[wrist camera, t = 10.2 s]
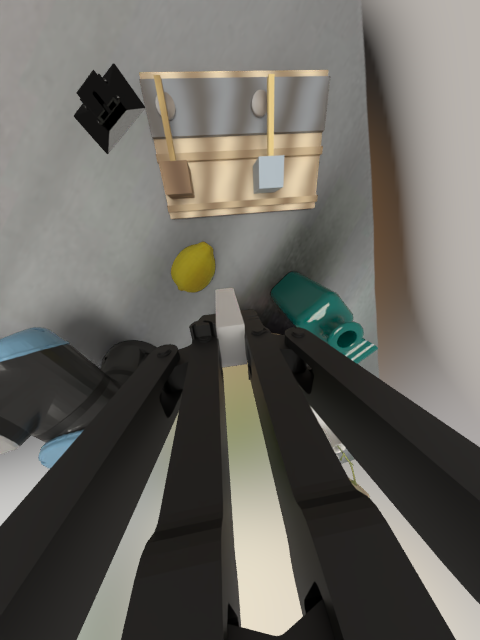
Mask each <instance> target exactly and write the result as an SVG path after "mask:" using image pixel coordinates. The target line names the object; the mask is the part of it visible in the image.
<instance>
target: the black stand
mask: <svg viewBox="0 0 480 640" xmlns="http://www.w3.org/2000/svg"><path fill="white" fill-rule="evenodd" d="M77 94H78V96H79V97H80V100H81V101H82V103H83V104H82V105H81V107H80V108H79V109H78V111H77V112H76V113H75V115H74V117H75V118H76V120H77V121H78V122H79V123H80V124H81V125H82V126H83V127H84V129H85V130H86V131H87V132H88V133H89V134H90V135H91V137H92V138H93V139H94V140H95V141H96V142H97V143H98V144H99V146H100V147H101V148H102V149H103V150H104V151H105V152H106V153H107V154H108V153H109V152H110V151H111V150H112V148H113V147H114V146H115V145H116V143H117V142H118V141H119V140H120V139H121V137H122V136H123V135H124V134H125V132H126V131H127V130H128V129H129V127H130V126H131V125H132V124H133V123H134V121H135V120H136V119H137V118H138V116H139V115H140V114H141V113H142V111H143V110H144V109H145V106H144V105H143V103H142V102H141V101H140V99H139V98H138V96H137V95H136V93H135V92H134V91H133V89H132V88H131V86H130V85H129V84H128V82H127V81H126V79H125V78H124V77H123V75H122V74H121V72H120V71H119V69H118V68H117V67H116V65H115V64H112V66H111V67H110V68H109V70H108V71H107V72H106V74H105V75H104V76H103V78H102V77H101V75H100V74H98V75H97V74H96V72H95V71H94V70H93V71H92V72H91V73H90V75H89V76H88V78H87V79H86V80H85V82H84V83H83V84H82V86H81V87H80V89H79V90H78V91H77Z"/></svg>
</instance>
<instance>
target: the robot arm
mask: <svg viewBox="0 0 480 640" xmlns="http://www.w3.org/2000/svg"><path fill="white" fill-rule="evenodd" d="M215 301H216V314H212V315H203V316H202V317H201V318H200V319H199V320H198V321H196V322H194V323H192V324H191V325H190V327H189V328H190V332H191V336H192V344H191V345H189V346H188V347H185V348H182V349H179V350H178V348H177V346H175V345H171V344H169V345H163V346H160V347H158V348H156V347H155V346H153V345H151V344H148V343H146V342H142V341H124V342H121V343H118V344H116V345H115V346H113V347H112V348H111V349H110V350H109V351H108V353H107V354H106V355H105V357H104V359H103V361H102V365H101V369H100V368H98V367H97V366H96V365H95V364H93V363H92V362H91V361H89V360H88V359H87V358H86V357H84V356H83V355H82V354H81V353H80V352H78V351H77V350H76V349H75V348H74V347H72V346H71V345H70V343H69V342H68V341H65V340H63V339H62V338H60V337H59V336H57V335H56V334H55V333H53V332H52V331H50V330H48V329H46V328H41V327H35V328H29V329H26V330H23V331H20V332H18V333H15V334H12V335H10V336H7V337H5V338H2V339H0V454H3V453H6V452H9V451H13V450H16V449H17V448H18V447H19V446H21V445H22V444H23V443H24V442H25V441H26V440H27V439H28V438H29V437H30V436H31V435H32V436H34V437H36V438H38V439H40V440H42V441H44V442H46V443H45V444H44V445H43V446H42V447H41V451H40V453H39V461H41V463H42V464H43V465H44V466H45V467H47V468H50V470H49V471H48V472H47V473H46V474H45V475H44V477H43V478H42V479H41V480H40V481H39V482H38V484H37V485H36V486H35V487H34V488H33V489H32V491H31V492H30V493H29V494H28V495H27V496H26V497H25V499H24V500H23V501H22V502H21V503H20V504H19V505H18V507H17V508H16V509H15V510H14V511H13V512H12V513H11V515H10V516H9V517H8V518H7V519H6V520H5V522H4V523H3V524H2V525H1V526H0V640H77V637H78V635H79V633H80V631H81V628H82V626H83V624H84V622H85V620H86V617H87V615H88V613H89V611H90V608H91V606H92V604H93V602H94V600H95V597H96V595H97V593H98V591H99V588H100V586H101V584H102V582H103V579H104V577H105V575H106V573H107V570H108V568H109V566H110V564H111V561H112V559H113V557H114V555H115V552H116V550H117V548H118V546H119V543H120V541H121V539H122V537H123V535H124V532H125V530H126V528H127V526H128V523H129V521H130V519H131V517H132V515H133V512H134V510H135V508H136V506H137V503H138V501H139V499H140V497H141V494H142V492H143V490H144V488H145V485H146V483H147V481H148V479H149V477H150V474H151V472H152V470H153V468H154V465H155V463H156V461H157V459H158V456H159V454H160V452H161V450H162V448H163V445H164V443H165V441H166V438H167V436H168V434H169V432H170V430H171V427H172V425H173V423H174V420H175V418H176V416H177V414H178V412H179V415H178V420H177V425H176V431H175V436H174V441H173V446H172V452H171V457H170V463H169V468H168V473H167V478H166V483H165V489H164V494H163V499H162V505H161V510H160V515H159V520H158V524H157V527H156V529H155V532H154V534H153V535H152V537H151V538H150V539H149V540H148V542H147V543H146V545H145V549H144V550H143V553H142V555H141V558H140V562H139V565H138V569H137V573H136V577H135V580H134V585H133V589H132V594H131V598H130V603H129V607H128V611H127V616H126V620H125V624H124V629H123V634H122V638H121V640H456V639H455V638H454V636H453V634H452V632H451V631H450V629H449V627H448V625H447V624H446V622H445V620H444V619H443V617H442V616H441V614H440V612H439V610H438V608H437V607H436V605H435V603H434V602H433V600H432V598H431V596H430V595H429V593H428V591H427V590H426V588H425V586H424V584H423V583H422V581H421V579H420V578H419V576H418V574H417V573H416V571H415V569H414V567H413V566H412V564H411V562H410V561H409V559H408V557H407V555H406V554H405V552H404V550H403V549H402V547H401V545H400V543H399V542H398V540H397V538H396V537H395V535H394V533H393V532H392V530H391V528H390V526H389V525H388V523H387V521H386V520H385V518H384V517H383V515H382V514H381V512H380V511H379V509H378V508H377V506H376V505H375V504H374V503H373V502H372V501H371V499H370V498H369V497H368V496H367V495H365V494H363V493H362V492H360V491H358V490H357V489H356V488H355V487H354V486H353V484H352V483H351V481H350V480H349V478H348V476H347V475H346V472H345V471H344V469H343V467H342V465H341V463H340V461H339V459H338V457H337V456H336V454H335V452H334V450H333V448H332V446H331V444H330V443H329V441H328V439H327V437H326V435H325V433H324V431H323V429H322V428H321V426H320V424H319V422H318V420H317V418H316V416H315V414H314V413H313V411H312V409H311V407H312V408H313V410H314V411H315V412H316V413H317V414H318V415H319V417H320V418H321V419H322V420H323V421H324V423H325V424H326V425H327V426H328V427H329V429H330V430H331V431H332V432H333V433H334V434H335V436H336V437H337V438H338V439H339V440H340V442H341V443H342V444H343V445H344V446H345V448H346V449H347V450H348V451H349V452H350V453H351V455H352V456H353V457H354V458H355V459H356V461H358V463H359V464H360V465H361V466H362V468H363V469H364V470H365V471H366V472H367V474H368V475H369V476H370V477H371V478H372V480H373V481H374V482H375V483H376V484H377V485H378V487H379V488H380V489H381V490H382V491H383V493H384V494H385V495H386V496H387V497H388V499H389V500H390V501H391V502H392V503H393V504H394V506H395V507H396V508H397V509H398V510H399V512H400V513H401V514H402V515H403V516H404V517H405V519H406V520H407V521H408V522H409V523H410V525H411V526H412V527H413V528H414V529H415V531H417V533H418V534H419V535H420V536H421V537H422V539H423V540H424V541H425V542H426V544H427V545H428V546H429V547H430V548H431V550H432V551H433V552H434V553H435V554H436V555H437V557H438V558H439V559H440V560H441V561H442V563H443V564H444V565H445V566H446V567H447V568H448V569H449V571H450V572H451V573H452V574H453V575H454V576H455V577H456V578H457V579H458V581H459V582H460V583H461V584H462V585H463V586H464V587H465V589H466V590H467V591H468V592H469V593H470V594H471V595H472V596H473V597H474V599H475V600H476V601H477V602H478V603H479V604H480V447H478V446H477V445H475V444H474V443H472V442H471V441H469V440H468V439H467V438H465V437H464V436H462V435H461V434H459V433H458V432H456V431H455V430H454V429H452V428H451V427H449V426H448V425H446V424H445V423H443V422H442V421H440V420H439V419H437V418H436V417H434V416H433V415H432V414H430V413H429V412H427V411H426V410H424V409H423V408H421V407H420V406H418V405H417V404H415V403H414V402H412V401H411V400H409V399H408V398H407V397H405V396H404V395H402V394H401V393H399V392H398V391H396V390H395V389H393V388H392V387H390V386H389V385H387V384H386V383H385V382H383V381H382V380H380V379H379V378H377V377H376V376H374V375H373V374H371V373H370V372H368V371H367V370H365V369H364V368H363V367H361V366H360V365H358V364H357V363H355V362H354V361H352V360H351V359H349V358H348V357H346V356H345V355H343V354H342V353H341V352H339V351H338V350H336V349H335V348H333V347H332V346H330V345H329V344H327V343H326V342H324V341H323V340H321V339H320V338H319V337H317V336H316V335H314V334H313V333H311V332H310V331H308V330H306V329H304V328H300V327H294V328H289V329H287V330H286V331H285V335H276V334H272V333H271V332H270V330H269V329H268V328H266V327H264V326H263V324H262V322H261V320H260V319H259V316H258V314H257V312H256V311H254V310H252V309H249V310H241V311H240V309H239V305H238V302H237V299H236V296H235V293H234V290H233V288H225V289H216V290H215ZM247 362H248V374H249V380H251V384H252V388H253V393H254V397H255V401H256V405H257V410H258V414H259V418H260V423H261V427H262V431H263V435H264V439H265V444H266V448H267V452H268V457H269V461H270V465H271V469H272V474H273V478H274V482H275V486H276V491H277V495H278V499H279V504H280V508H281V512H282V516H283V521H284V525H285V529H286V534H287V538H288V543H289V550H290V557H291V563H292V569H293V573H294V578H295V583H296V587H297V592H298V596H299V601H300V605H301V609H302V614H303V617H302V618H301V619H300V620H299V621H298V622H297V623H295V625H293V626H292V627H291V628H290V629H289V630H288V631H287V632H285V633H284V634H283V635H280V636H272V635H269V634H265V633H261V632H257V631H253V630H249V629H246V628H242V627H241V620H240V605H239V591H238V580H237V569H236V560H235V550H234V537H233V536H234V535H233V520H232V505H231V490H230V473H229V458H228V442H227V427H226V412H225V396H224V381H223V370H222V368H223V367H230V366H237V365H243V364H247ZM308 365H309V366H310V367H309V366H308ZM310 406H311V407H310Z"/></svg>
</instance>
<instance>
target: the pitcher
mask: <svg viewBox="0 0 480 640" xmlns="http://www.w3.org/2000/svg"><path fill="white" fill-rule="evenodd" d="M271 297H272V299H273V300H274V301H275V303H276V304H277V305H278V306H279V308H280V309H281V310H282V311H283V312H284V314H285V315H286V316H287V317H288V318H289V320H290V321H291V322H292V323H293V325H294V326H295V327H300V328H304V329H306V330H308V331H310V332H311V333H313V334H314V335H316V336H317V337H319V338H320V339H321V340H323V341H324V342H326V343H327V344H329V345H330V346H332V347H333V348H335V349H336V350H338V351H339V352H341V353H342V354H343V355H345V356H346V357H348V358H349V359H351V360H352V361H354V362H355V363H357V364H358V363H359V362H361V361H362V360H363V359H365V358H366V357H368V356H369V355H370V354H372V353H373V352H375V351H376V350H377V349H378V348H377V347H376V346H375V345H373V344H372V343H370V342H369V341H366V340H365V339H364V338H363V335H364V331H363V328H362V326H361V325H360V324H359V323H356V322H352V321H353V314H352V312H351V311H350V310H349V308H348V307H347V306H346V304H345V303H344V302H343V301H342V299H341V298H340V297H339V295H338V294H337V293H336V292H334V291H332V290H330V289H328V288H326V287H324V286H322V285H321V284H319V283H317V282H315V281H313V280H311V279H309V278H307V277H305V276H304V275H302V274H300V273H298V272H290V273H288V274H287V275H286V276H285V277H284V278H283V279H282V280H281V281H280V282H279V283H278V284H277V285H276V286H275V287H274V288H273V289H272V291H271Z"/></svg>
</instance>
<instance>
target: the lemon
mask: <svg viewBox="0 0 480 640" xmlns="http://www.w3.org/2000/svg"><path fill="white" fill-rule="evenodd" d="M214 273H215V259H214V255H213V248H212V247H211V246H210V245H208V244H207V243H205V242H201V243H199V244H195V245H191V246H188V247H186V248H185V249H184V250H182V251H181V252H180V253H179V254H178V256H177V257H176V259H175V260H174V262H173V265H172V268H171V276H172V279H173V281H174V282H175V283H176V285H177V286H178V289H179V290H181V291H183V290H184V291H187V292H198V291H200V290H202V289H204V288H205V287H206V286H207V285H208V284H209V283H210V282H211V280H212V278H213V276H214Z"/></svg>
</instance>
